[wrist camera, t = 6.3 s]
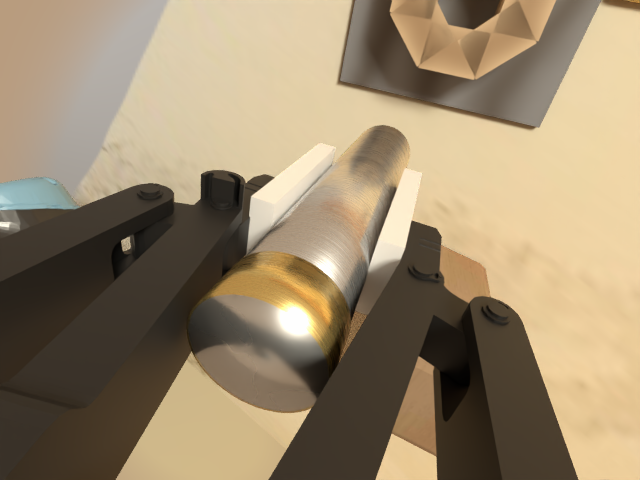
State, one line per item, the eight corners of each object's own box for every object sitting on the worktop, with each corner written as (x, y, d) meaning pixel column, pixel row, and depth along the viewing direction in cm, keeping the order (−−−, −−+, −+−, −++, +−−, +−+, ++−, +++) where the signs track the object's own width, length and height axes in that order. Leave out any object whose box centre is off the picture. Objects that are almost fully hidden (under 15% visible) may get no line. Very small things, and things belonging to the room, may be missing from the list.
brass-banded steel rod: (347, 172, 22) (186, 376, 9) (361, 117, 20) (186, 269, 7) (400, 188, 21) (314, 433, 8) (419, 133, 20) (348, 332, 6)
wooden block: (376, 286, 49) (341, 413, 32) (411, 227, 44) (390, 343, 27) (444, 319, 48) (445, 466, 32) (488, 263, 43) (516, 406, 26)
